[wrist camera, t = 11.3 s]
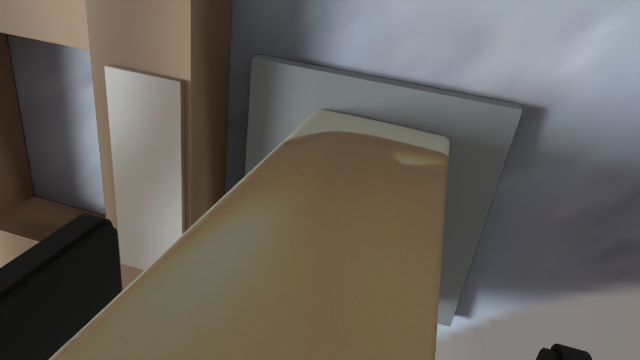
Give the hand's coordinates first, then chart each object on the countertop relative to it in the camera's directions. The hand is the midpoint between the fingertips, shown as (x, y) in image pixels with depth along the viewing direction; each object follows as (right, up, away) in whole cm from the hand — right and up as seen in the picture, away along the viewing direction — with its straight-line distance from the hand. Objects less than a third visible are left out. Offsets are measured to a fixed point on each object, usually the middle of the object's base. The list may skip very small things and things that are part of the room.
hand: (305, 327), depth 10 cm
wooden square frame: (-9, +5, +8) cm, 13 cm away
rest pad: (+2, +3, +6) cm, 7 cm away
